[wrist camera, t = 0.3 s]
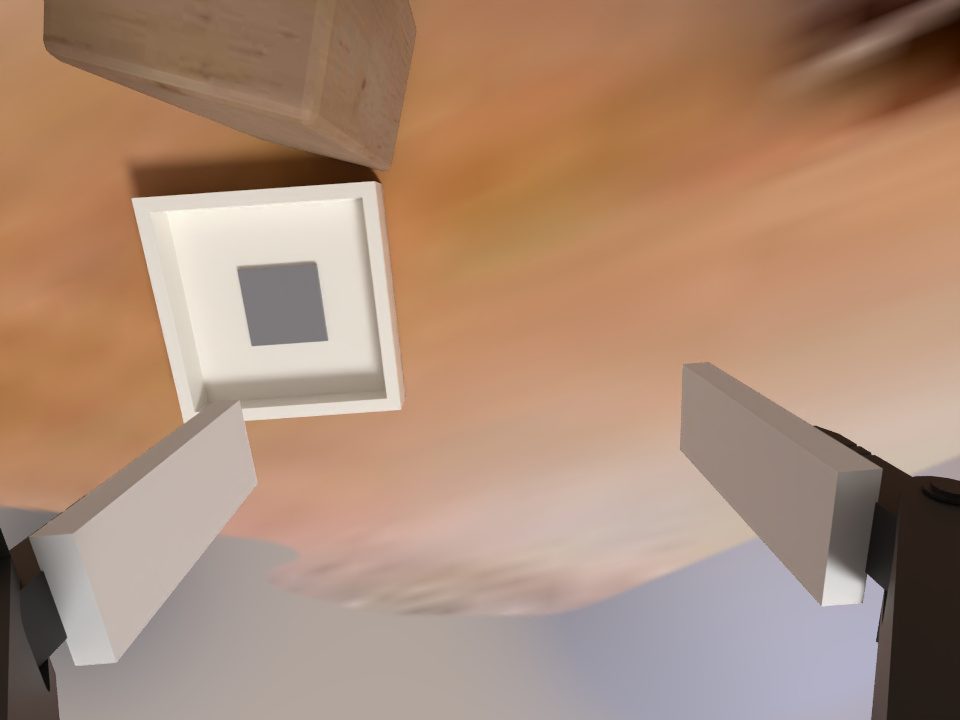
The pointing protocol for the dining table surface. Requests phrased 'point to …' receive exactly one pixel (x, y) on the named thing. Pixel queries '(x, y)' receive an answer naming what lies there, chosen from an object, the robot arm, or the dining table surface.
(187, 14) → the wooden block
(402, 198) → the dining table surface
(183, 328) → the dish
